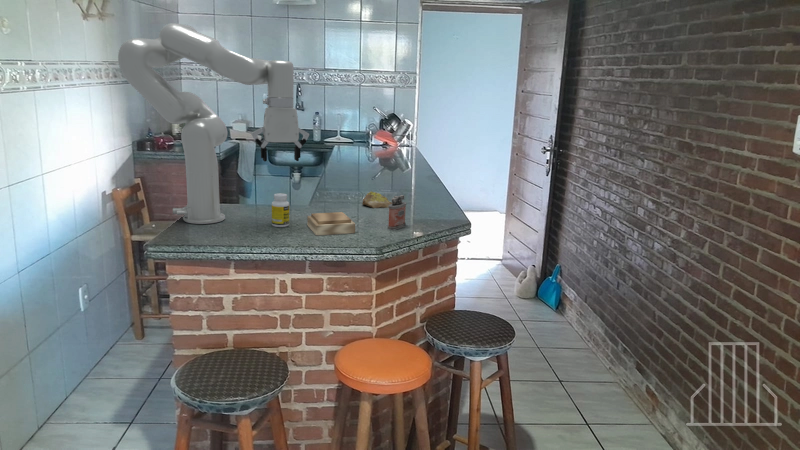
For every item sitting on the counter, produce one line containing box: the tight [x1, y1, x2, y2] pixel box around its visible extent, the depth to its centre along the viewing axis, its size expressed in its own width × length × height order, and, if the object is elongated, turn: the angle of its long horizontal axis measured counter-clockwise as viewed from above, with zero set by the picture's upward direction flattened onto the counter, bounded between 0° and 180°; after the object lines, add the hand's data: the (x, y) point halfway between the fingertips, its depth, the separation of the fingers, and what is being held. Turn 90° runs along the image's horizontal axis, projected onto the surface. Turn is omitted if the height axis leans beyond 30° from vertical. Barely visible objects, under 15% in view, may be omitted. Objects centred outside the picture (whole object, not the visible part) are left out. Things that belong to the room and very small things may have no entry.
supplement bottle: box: [271, 192, 290, 228], centre depth 185 cm, size 5×5×10 cm
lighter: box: [387, 194, 407, 231], centre depth 188 cm, size 8×3×10 cm, turn 148°
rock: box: [362, 190, 392, 209], centre depth 218 cm, size 12×7×10 cm
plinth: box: [306, 211, 356, 236], centre depth 183 cm, size 12×12×4 cm
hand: (280, 160), depth 181 cm, fingers open, 9 cm apart
